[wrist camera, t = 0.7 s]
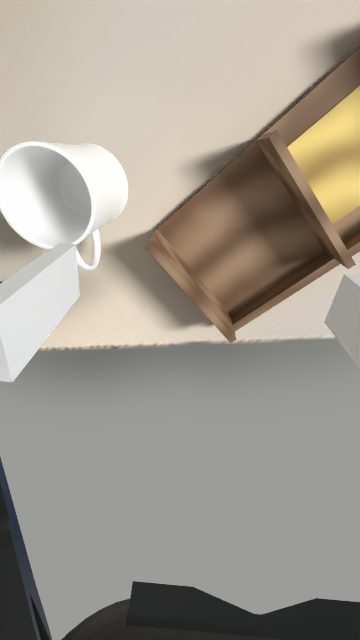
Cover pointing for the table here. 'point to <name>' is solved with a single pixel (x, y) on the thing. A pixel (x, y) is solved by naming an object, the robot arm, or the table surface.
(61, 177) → the mug
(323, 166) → the rack
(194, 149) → the table surface
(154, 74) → the table surface
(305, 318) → the table surface
